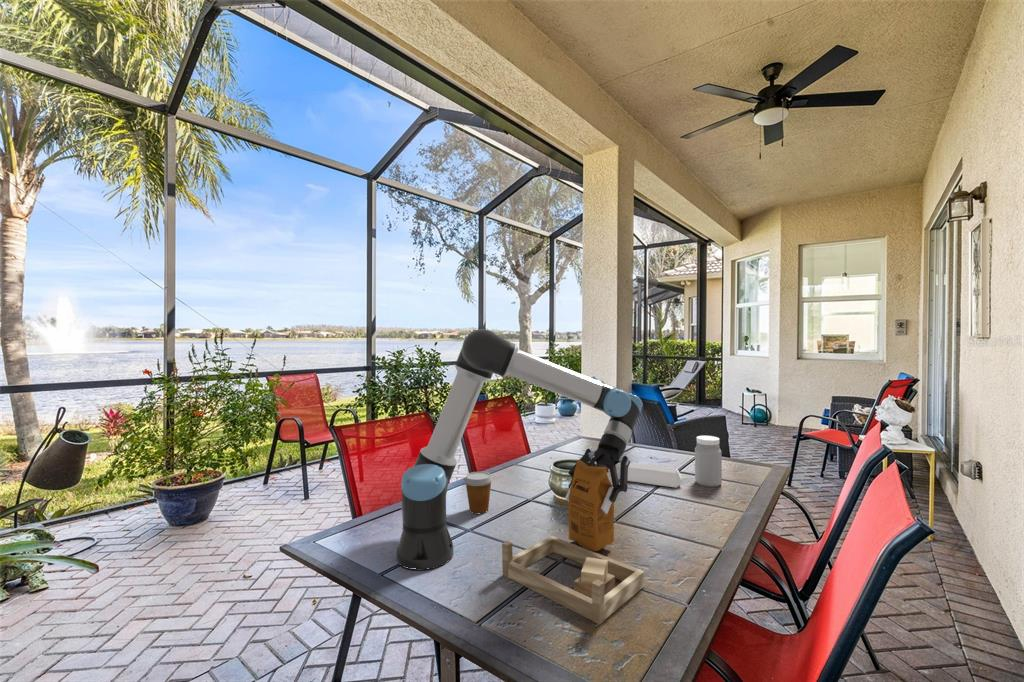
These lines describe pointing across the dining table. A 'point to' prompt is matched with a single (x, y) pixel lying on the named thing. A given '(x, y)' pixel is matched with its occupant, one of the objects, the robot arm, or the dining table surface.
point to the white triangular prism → (654, 475)
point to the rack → (588, 607)
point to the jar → (708, 461)
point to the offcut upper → (594, 571)
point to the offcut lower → (588, 589)
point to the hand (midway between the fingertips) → (585, 505)
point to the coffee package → (590, 508)
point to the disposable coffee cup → (478, 491)
